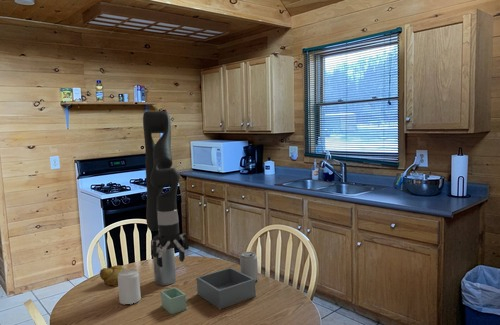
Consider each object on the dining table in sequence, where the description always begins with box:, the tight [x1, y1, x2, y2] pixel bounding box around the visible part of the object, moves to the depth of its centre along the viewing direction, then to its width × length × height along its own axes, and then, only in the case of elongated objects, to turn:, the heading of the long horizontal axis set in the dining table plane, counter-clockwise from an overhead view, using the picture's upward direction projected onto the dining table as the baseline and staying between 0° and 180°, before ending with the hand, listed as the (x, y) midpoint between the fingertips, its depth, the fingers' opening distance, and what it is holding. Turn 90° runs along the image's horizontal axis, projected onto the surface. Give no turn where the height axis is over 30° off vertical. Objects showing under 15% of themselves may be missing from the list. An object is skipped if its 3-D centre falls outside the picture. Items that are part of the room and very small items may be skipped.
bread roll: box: [99, 264, 127, 286], centre depth 179 cm, size 13×10×8 cm
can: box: [239, 251, 259, 282], centre depth 174 cm, size 8×8×12 cm
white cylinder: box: [117, 268, 142, 305], centre depth 158 cm, size 8×8×12 cm
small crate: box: [160, 286, 187, 315], centre depth 151 cm, size 9×6×6 cm, turn 36°
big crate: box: [196, 267, 257, 310], centre depth 160 cm, size 18×17×7 cm
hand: (171, 263), depth 149 cm, fingers open, 8 cm apart
